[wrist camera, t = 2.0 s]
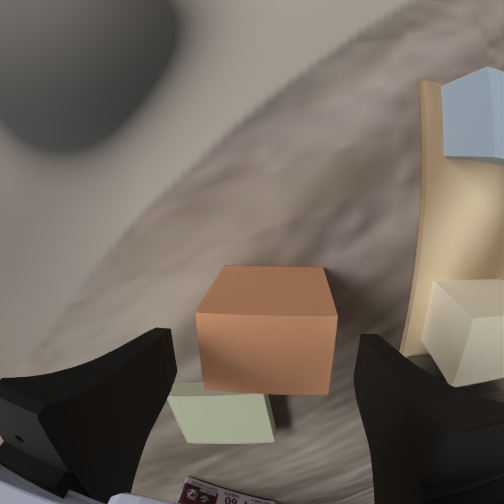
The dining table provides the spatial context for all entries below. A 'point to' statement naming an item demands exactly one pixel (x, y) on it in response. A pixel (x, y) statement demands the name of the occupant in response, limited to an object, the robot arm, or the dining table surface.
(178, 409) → the flat book
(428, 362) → the bookend
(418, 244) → the shelf board
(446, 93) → the blue-grey block
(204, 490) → the supplement box
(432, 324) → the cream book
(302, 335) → the terracotta cube
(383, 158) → the dining table surface
